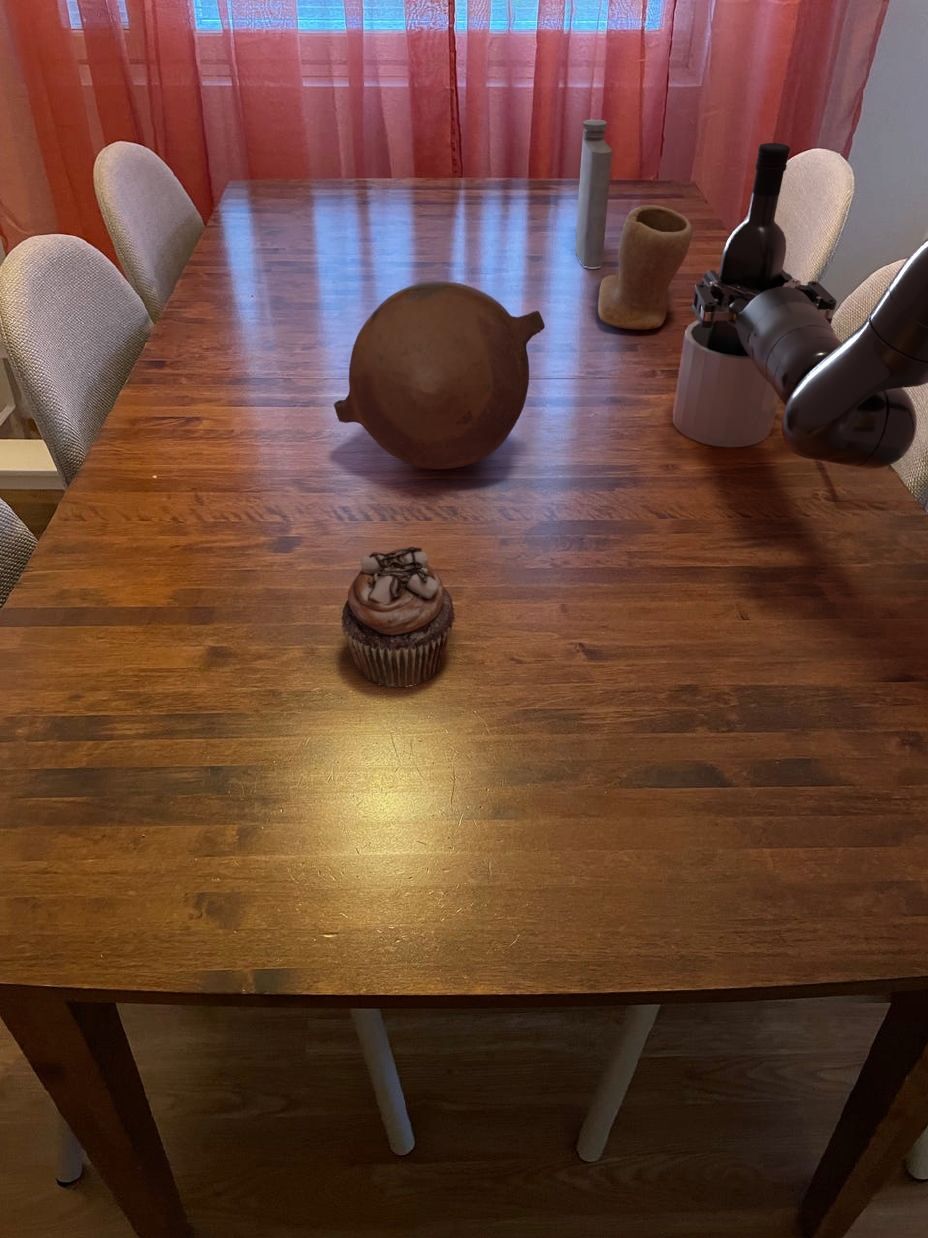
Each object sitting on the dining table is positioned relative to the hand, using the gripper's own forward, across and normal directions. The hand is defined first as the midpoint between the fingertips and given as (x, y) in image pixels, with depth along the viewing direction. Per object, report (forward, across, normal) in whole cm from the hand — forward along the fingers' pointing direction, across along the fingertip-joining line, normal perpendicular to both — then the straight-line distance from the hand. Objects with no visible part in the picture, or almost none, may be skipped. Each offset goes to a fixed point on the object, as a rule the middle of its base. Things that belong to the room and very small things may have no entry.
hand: (742, 278), depth 105 cm
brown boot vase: (+30, +4, +17) cm, 35 cm away
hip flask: (+57, +8, +17) cm, 60 cm away
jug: (-2, +33, +17) cm, 37 cm away
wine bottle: (-2, 0, +16) cm, 16 cm away
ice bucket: (-2, 0, +17) cm, 17 cm away
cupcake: (-42, +39, +17) cm, 59 cm away
